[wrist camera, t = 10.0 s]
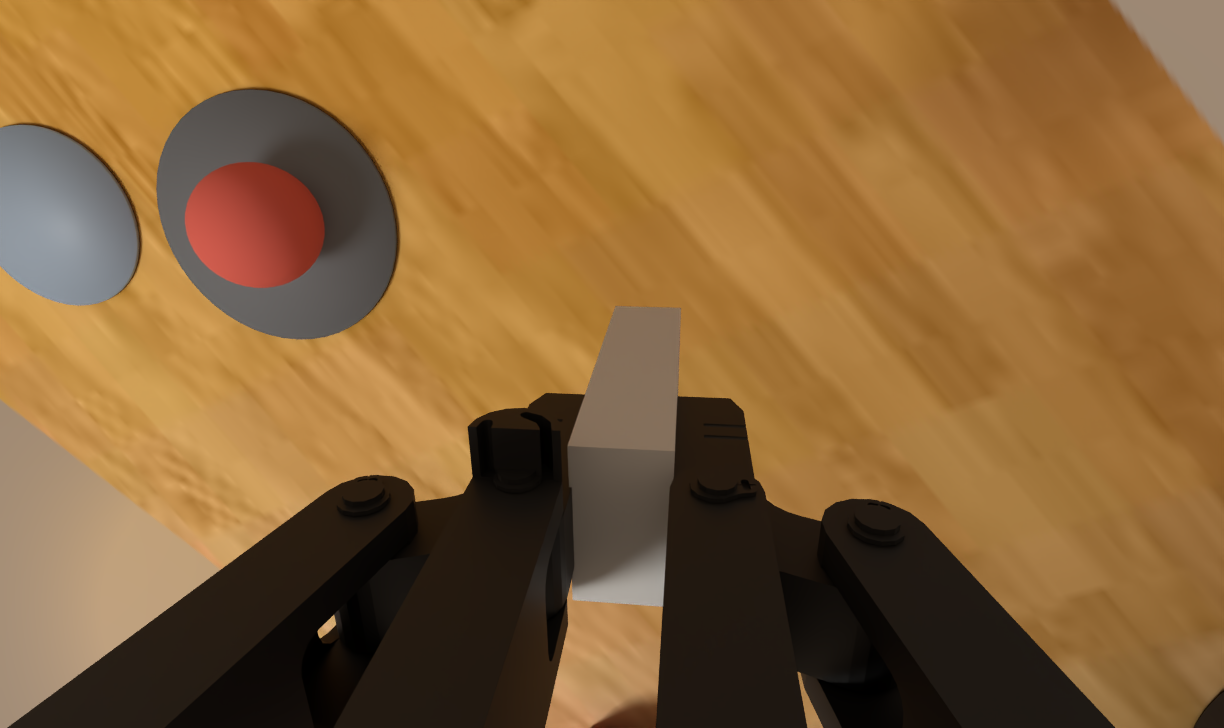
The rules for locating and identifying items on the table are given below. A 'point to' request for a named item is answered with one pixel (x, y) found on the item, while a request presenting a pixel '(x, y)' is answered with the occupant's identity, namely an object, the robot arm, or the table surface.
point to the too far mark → (63, 218)
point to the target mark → (332, 174)
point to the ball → (254, 224)
